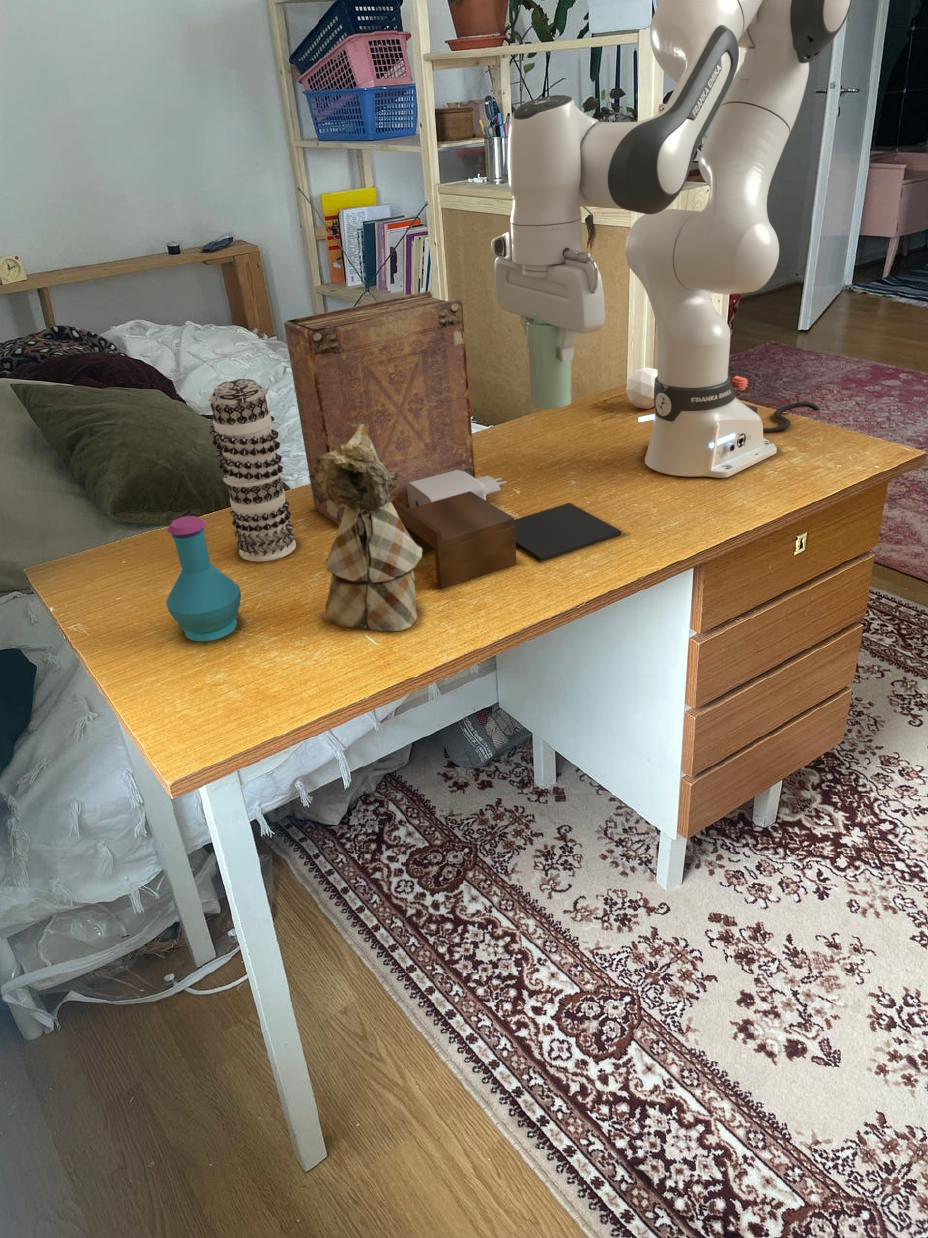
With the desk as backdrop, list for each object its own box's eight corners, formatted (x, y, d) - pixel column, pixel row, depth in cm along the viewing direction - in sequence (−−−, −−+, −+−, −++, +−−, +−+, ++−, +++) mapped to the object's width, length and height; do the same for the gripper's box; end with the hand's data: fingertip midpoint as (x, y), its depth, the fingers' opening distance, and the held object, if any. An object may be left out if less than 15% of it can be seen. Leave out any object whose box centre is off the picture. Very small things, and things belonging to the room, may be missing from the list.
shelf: (473, 534, 140) (469, 481, 136) (516, 563, 131) (514, 508, 126) (401, 556, 135) (395, 502, 131) (441, 589, 126) (435, 532, 122)
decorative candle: (232, 543, 143) (197, 380, 131) (292, 530, 146) (263, 370, 133) (240, 567, 136) (203, 398, 123) (303, 554, 138) (274, 386, 125)
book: (446, 469, 163) (431, 290, 148) (476, 484, 156) (463, 298, 141) (314, 510, 152) (283, 320, 137) (340, 528, 145) (310, 331, 130)
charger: (519, 503, 148) (434, 528, 143) (490, 485, 156) (408, 508, 150) (517, 475, 146) (431, 499, 140) (489, 458, 153) (405, 480, 148)
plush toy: (467, 606, 119) (415, 413, 110) (384, 653, 112) (321, 451, 103) (401, 594, 130) (349, 417, 121) (321, 636, 122) (259, 451, 113)
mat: (569, 506, 146) (569, 502, 146) (621, 534, 136) (621, 530, 136) (492, 530, 141) (492, 526, 140) (540, 561, 131) (540, 557, 130)
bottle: (556, 393, 132) (553, 270, 123) (579, 402, 127) (578, 276, 119) (522, 402, 130) (517, 278, 121) (545, 412, 125) (541, 284, 117)
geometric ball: (653, 422, 184) (661, 398, 177) (616, 406, 185) (622, 381, 178) (668, 394, 187) (677, 369, 179) (631, 378, 188) (639, 352, 181)
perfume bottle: (261, 623, 121) (239, 517, 114) (201, 654, 116) (174, 545, 108) (219, 603, 127) (195, 500, 119) (160, 632, 121) (131, 526, 114)
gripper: (617, 249, 111) (617, 365, 119) (524, 233, 127) (528, 336, 134) (574, 258, 109) (575, 376, 116) (484, 240, 125) (490, 345, 132)
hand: (549, 354), depth 125 cm, fingers closed on bottle, 5 cm apart
